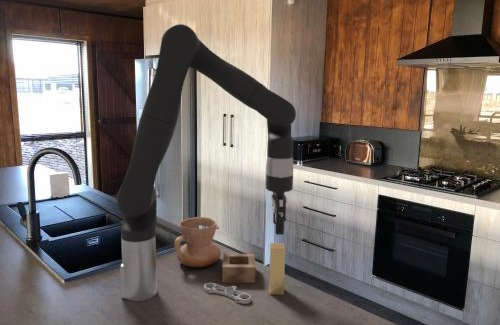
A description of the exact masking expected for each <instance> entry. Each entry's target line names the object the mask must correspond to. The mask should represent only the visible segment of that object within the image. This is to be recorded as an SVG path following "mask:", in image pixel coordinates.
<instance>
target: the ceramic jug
mask: <svg viewBox="0 0 500 325" xmlns="http://www.w3.org/2000/svg"><path fill="white" fill-rule="evenodd" d="M217 224H218V222H217V220H216V219H213V218H211V217H207V216H197V217H190V218H186V219H183V220H182V221H180V222H179V230H180V233H181V235H179V236H178V237H177V238H175V239H174V240H175V241H174V249H175V253H176V256H177V260H178V261H179V263H180V264H182V265H183V266H186V267H191V268H206V267H209V266H211V265H213V264H215V263H217V262H218V261H219V259H220V257H221V255H222V254H221V249H220V247H219V246H218V245H217V244H215V243H213V242H212V241H213V239H214V236H215V235H216V231H217V230H219V229H220V226H219V225H217ZM200 226H202V228H200ZM203 226H204V227H203ZM182 242H185V244H184V245H182V246H181V243H182Z"/></svg>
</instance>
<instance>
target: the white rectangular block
mask: <svg viewBox="0 0 500 325" xmlns="http://www.w3.org/2000/svg"><path fill="white" fill-rule="evenodd" d="M69 175H70V174H69V171H62V172H61V171H59V172H52V173H49V186H50V197H51V196H54V197H53V198H56V197H58V198H65V197H64V196H66V197H68V196H67V195H69V194H70V193H71V192H70V191H71V190H70V178H69V177H70V176H69ZM70 195H71V194H70ZM70 195H69V196H70Z"/></svg>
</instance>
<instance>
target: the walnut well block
mask: <svg viewBox="0 0 500 325" xmlns="http://www.w3.org/2000/svg"><path fill="white" fill-rule="evenodd" d="M255 254H256V253H223V259H222V266H221V274H222V275H221V277H222V278H221V279H222V280H221V282H222V283H231V284H232V283H233V284H235V283H236V284H238V283H240V284H241V283H244V284H245V283H246V284H247V283H250V284H252V283H253V284H254V283H256V257H255V256H256V255H255Z"/></svg>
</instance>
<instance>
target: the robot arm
mask: <svg viewBox="0 0 500 325" xmlns="http://www.w3.org/2000/svg"><path fill="white" fill-rule="evenodd" d="M190 68H191V69H192V70H195V71H197V72H198V73H201V74H202V75H204V76H205V77H206V78H208V79H209V80H211V81H212V82H214V83H215V84H216V85H217V86H219V87H220V88H221V89H223V91H225V92H226V93H228V94H229V95H230V96H232V97H233V98H234V99H236V100H238V101H239V102H241V103H242V104H244V105H245V106H247V107H248V108H250V109H252V110H253V111H256V112H257V113H258V114H260V115H261V116H263V118H265V119H266V125H267V127H266V128H267V148H266V149H267V151H266V152H267V153H266V154H267V155H266V156H267V157H266V166H265V189H266V190H267V191H269V192H272V194H271V207H272V212H273V214H272V218H273V219H272V223H273V224H274V225H275V235H279V236H281V235H284V233H285V222H286V220H287V218H286V215H287V214H286V213H287V200H288V199H287V198H288V197H286V194H285V193H288V192H291V191H293V189H294V187H293V186H294V139H293V137H292V124H293V123H294V122H295V120H296V116H297V112H296V109H295V106H294V105H293V103H291V102H290V101H288V100H287V99H285V98H283V97H282V96H280V95H279V94H277V93H275V92H273V91H272V90H270V89H269V88H268V87H266V86H265V85H264V84H262V82H260V81H259V80H258V79H256V78H254V77H253V76H251V75H250V74H248V73H247V72H245V71H243V70H242V69H240V68H238V67H237V66H235V65H233V64H231V63H230V62H228V61H226V60H224V59H223V58H222V57H220V56H219V55H217V54H216V53H215V52H213V51H212V50H211V49H210V48H209V47H207V46H206V44H204V43H203V42H202V41H201V40H200V39H199V38H198V35H197V33H196V32H195V31H194V30H193V28H191V27H189V26H188V25H187V24H181V23H177V24H174V25H171V26H169V27H168V28H167V29H166V30H165V31H164V33H163V34H162V37H161V40H160V48H159V54H158V60H157V65H156V70H155V73H154V78H153V81H152V82H151V86H150V88H149V90H148V93H147V96H146V99H145V103H144V105H143V108H142V110H141V113H140V114H141V115H140V118H139V121H138V126H137V131H136V134H135V138H134V142H133V147H132V151H131V153H132V154H131V157H130V158H131V159H130V162H129V165H128V168H127V170H126V174H125V176H124V179H123V180H122V184H121V186H120V188H119V190H118V192H117V196H116V203H117V207H118V209H119V211H120V212H121V213H122V214H123V216H122V224H121V226H120V239H121V241H120V243H121V260H122V261H121V264H120V266H119V270H120V272H119V273H120V297H121V299H126V300H128V301H132V302H140V301H141V302H142V301H146V300H150V299H152V298H153V297H155V296H156V295H157V294H158V283H157V281H158V279H157V278H158V277H157V274H158V273H157V246H156V245H157V243H156V242H157V241H156V240H157V239H156V236H157V235H156V227H157V218H158V217H157V191H156V187H155V181H156V178H157V174H158V171H159V168H160V165H161V163H162V162H163V160H164V157H165V156H166V153H167V152H168V148H169V146H170V145H171V142H172V139H173V136H174V132H175V129H176V126H177V123H178V119H179V115H180V108H181V103H182V94H183V87H184V83H185V80H186V76H187V74H188V72H189V69H190Z"/></svg>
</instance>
